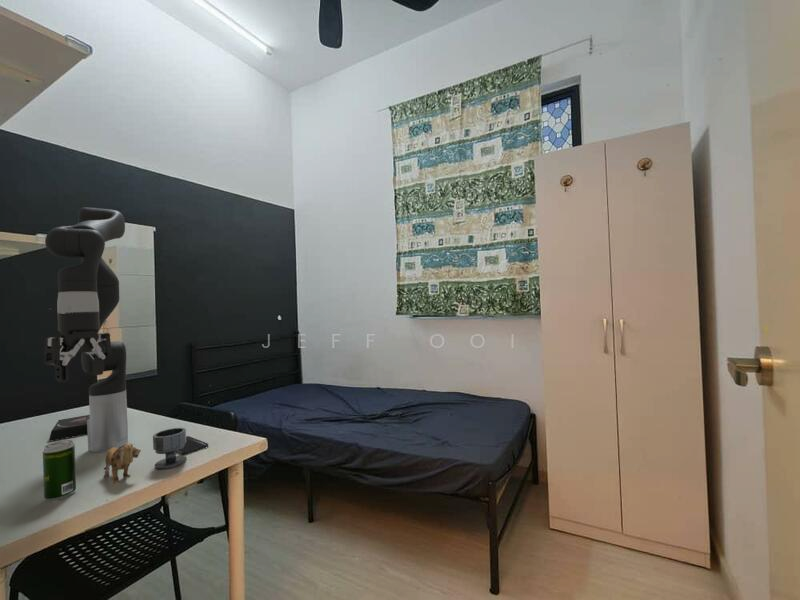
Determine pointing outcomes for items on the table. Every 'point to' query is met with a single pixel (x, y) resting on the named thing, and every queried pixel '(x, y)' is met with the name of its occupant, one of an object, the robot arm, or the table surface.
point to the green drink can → (59, 470)
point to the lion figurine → (120, 460)
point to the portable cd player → (70, 427)
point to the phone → (192, 445)
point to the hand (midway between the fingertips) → (81, 378)
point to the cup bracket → (169, 447)
